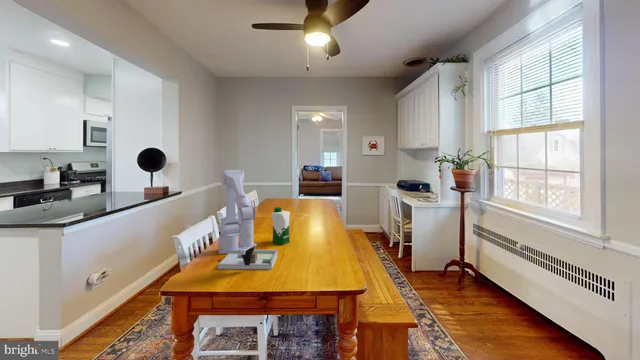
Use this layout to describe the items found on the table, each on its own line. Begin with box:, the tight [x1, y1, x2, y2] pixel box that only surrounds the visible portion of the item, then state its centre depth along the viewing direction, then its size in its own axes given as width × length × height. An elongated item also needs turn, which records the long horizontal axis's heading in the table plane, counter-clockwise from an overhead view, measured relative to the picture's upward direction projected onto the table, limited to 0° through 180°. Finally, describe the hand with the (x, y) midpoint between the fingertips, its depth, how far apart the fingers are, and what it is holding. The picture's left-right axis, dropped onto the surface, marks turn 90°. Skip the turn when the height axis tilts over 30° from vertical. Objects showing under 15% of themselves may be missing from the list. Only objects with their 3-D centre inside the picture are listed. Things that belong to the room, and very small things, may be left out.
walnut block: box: [251, 252, 257, 263], centre depth 128 cm, size 4×4×4 cm
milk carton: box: [270, 206, 291, 246], centre depth 159 cm, size 9×9×20 cm
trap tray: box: [217, 249, 278, 270], centre depth 132 cm, size 24×16×3 cm, turn 90°
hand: (247, 264), depth 122 cm, fingers closed
